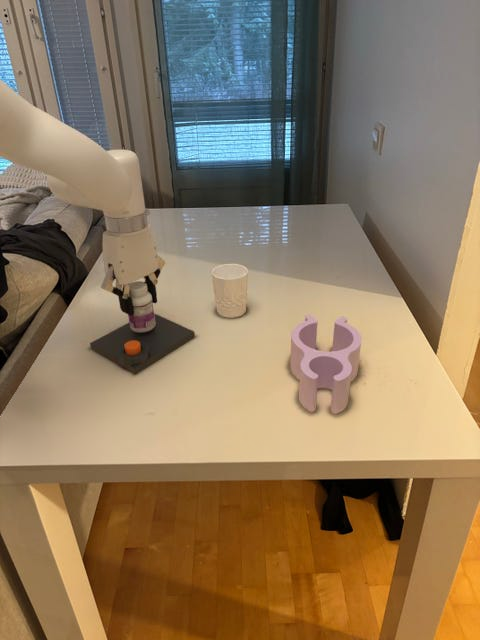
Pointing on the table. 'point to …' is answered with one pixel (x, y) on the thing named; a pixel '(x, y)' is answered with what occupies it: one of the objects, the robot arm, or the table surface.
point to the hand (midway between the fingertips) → (139, 306)
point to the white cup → (230, 289)
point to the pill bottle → (141, 308)
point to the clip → (325, 362)
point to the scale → (142, 343)
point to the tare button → (132, 347)
